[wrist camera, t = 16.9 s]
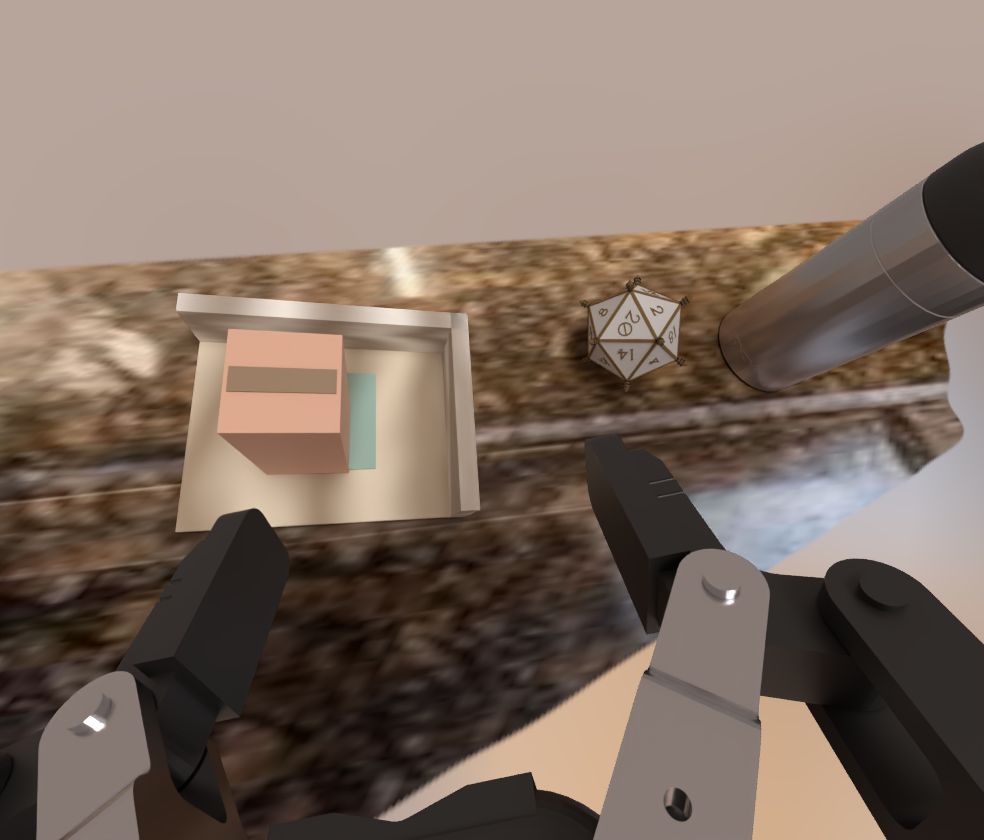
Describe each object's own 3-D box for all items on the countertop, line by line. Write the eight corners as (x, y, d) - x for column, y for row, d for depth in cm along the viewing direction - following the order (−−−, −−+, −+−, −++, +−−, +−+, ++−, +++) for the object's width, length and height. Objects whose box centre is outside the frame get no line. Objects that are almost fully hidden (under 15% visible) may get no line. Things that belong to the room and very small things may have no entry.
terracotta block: (350, 402, 31) (342, 334, 21) (349, 472, 29) (339, 431, 20) (272, 401, 29) (227, 327, 20) (266, 474, 28) (216, 432, 19)
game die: (595, 389, 42) (644, 425, 33) (541, 321, 39) (579, 340, 30) (670, 326, 41) (743, 345, 31) (621, 252, 38) (686, 248, 29)
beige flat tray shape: (455, 343, 35) (467, 314, 31) (465, 516, 31) (480, 509, 27) (205, 330, 30) (178, 292, 26) (179, 532, 26) (143, 527, 22)
